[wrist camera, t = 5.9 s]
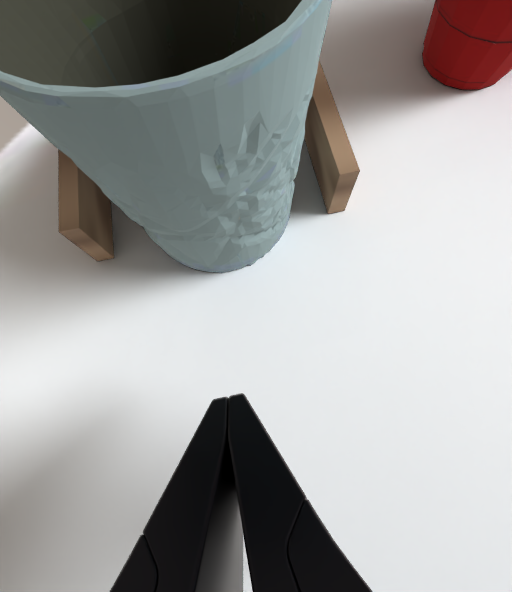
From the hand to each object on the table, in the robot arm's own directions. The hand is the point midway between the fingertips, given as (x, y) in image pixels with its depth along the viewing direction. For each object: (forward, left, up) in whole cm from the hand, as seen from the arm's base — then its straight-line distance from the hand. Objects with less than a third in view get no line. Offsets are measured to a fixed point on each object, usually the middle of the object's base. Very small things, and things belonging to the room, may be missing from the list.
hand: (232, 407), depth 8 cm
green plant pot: (+7, +9, -8) cm, 14 cm away
